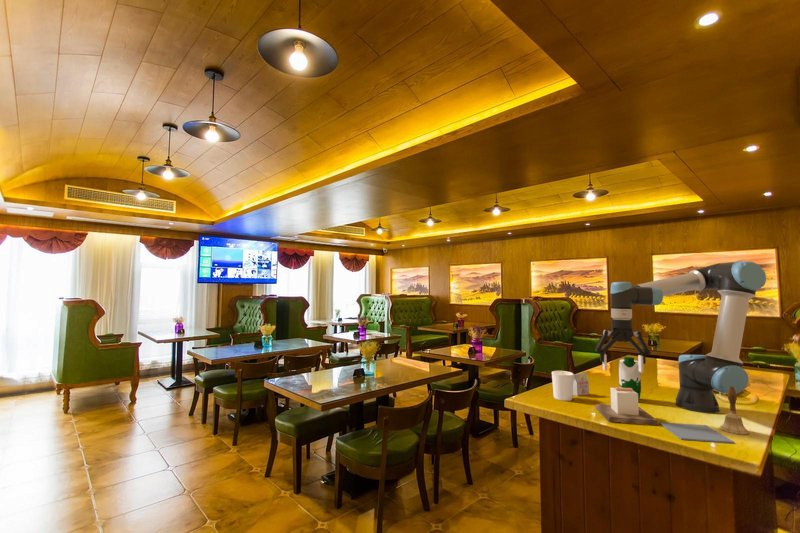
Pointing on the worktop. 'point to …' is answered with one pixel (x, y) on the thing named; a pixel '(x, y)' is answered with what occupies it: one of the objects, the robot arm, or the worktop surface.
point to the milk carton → (630, 375)
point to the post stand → (626, 416)
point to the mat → (695, 432)
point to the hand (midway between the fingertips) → (622, 370)
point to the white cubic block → (624, 401)
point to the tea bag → (580, 385)
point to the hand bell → (733, 416)
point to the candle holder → (562, 385)
